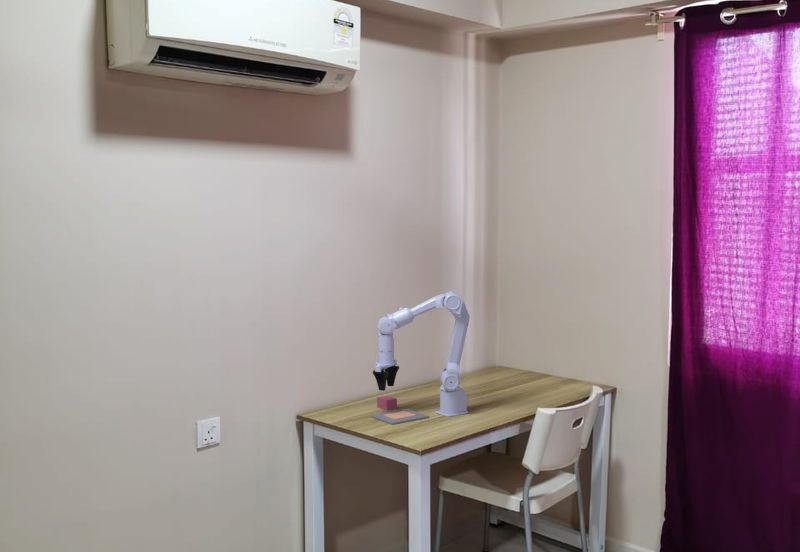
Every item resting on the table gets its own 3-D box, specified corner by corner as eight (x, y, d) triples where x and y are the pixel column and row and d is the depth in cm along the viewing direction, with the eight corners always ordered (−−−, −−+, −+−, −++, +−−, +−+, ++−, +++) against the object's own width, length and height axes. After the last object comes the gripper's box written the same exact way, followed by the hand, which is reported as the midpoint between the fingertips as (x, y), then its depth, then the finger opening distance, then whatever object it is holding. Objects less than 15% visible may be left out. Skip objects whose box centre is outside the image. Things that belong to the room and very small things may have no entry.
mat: (406, 410, 295) (406, 407, 295) (429, 417, 284) (429, 415, 284) (370, 416, 286) (370, 414, 286) (392, 424, 275) (392, 422, 275)
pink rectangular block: (387, 406, 303) (387, 395, 302) (396, 409, 297) (396, 398, 297) (377, 407, 300) (377, 397, 300) (386, 411, 295) (386, 400, 295)
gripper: (384, 347, 296) (384, 383, 297) (367, 353, 282) (367, 391, 283) (401, 348, 293) (402, 384, 294) (385, 354, 280) (385, 392, 281)
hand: (386, 388), depth 289 cm, fingers open, 7 cm apart
